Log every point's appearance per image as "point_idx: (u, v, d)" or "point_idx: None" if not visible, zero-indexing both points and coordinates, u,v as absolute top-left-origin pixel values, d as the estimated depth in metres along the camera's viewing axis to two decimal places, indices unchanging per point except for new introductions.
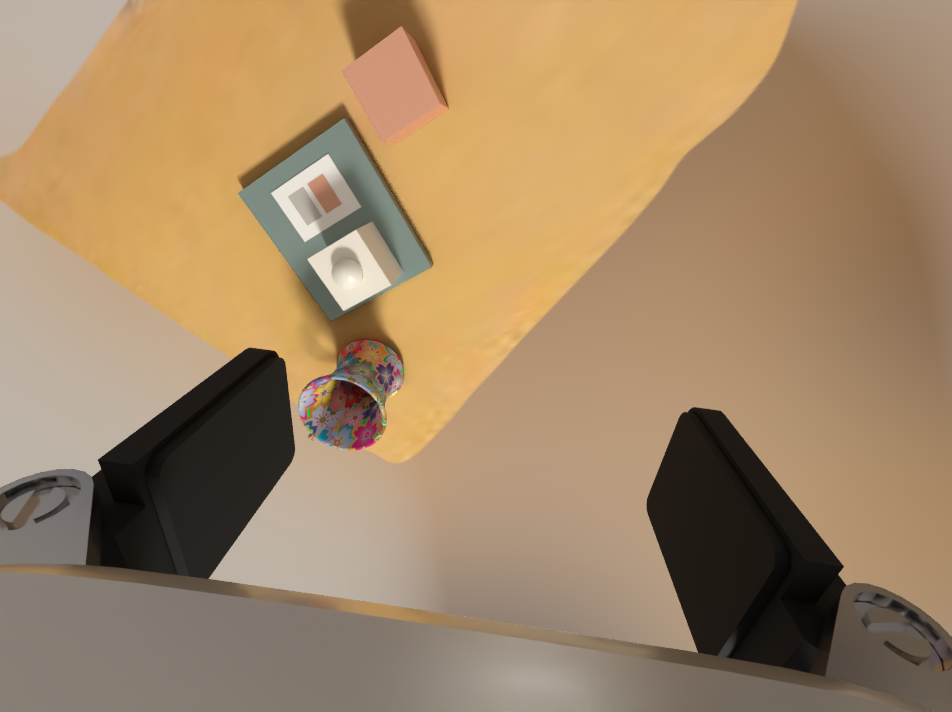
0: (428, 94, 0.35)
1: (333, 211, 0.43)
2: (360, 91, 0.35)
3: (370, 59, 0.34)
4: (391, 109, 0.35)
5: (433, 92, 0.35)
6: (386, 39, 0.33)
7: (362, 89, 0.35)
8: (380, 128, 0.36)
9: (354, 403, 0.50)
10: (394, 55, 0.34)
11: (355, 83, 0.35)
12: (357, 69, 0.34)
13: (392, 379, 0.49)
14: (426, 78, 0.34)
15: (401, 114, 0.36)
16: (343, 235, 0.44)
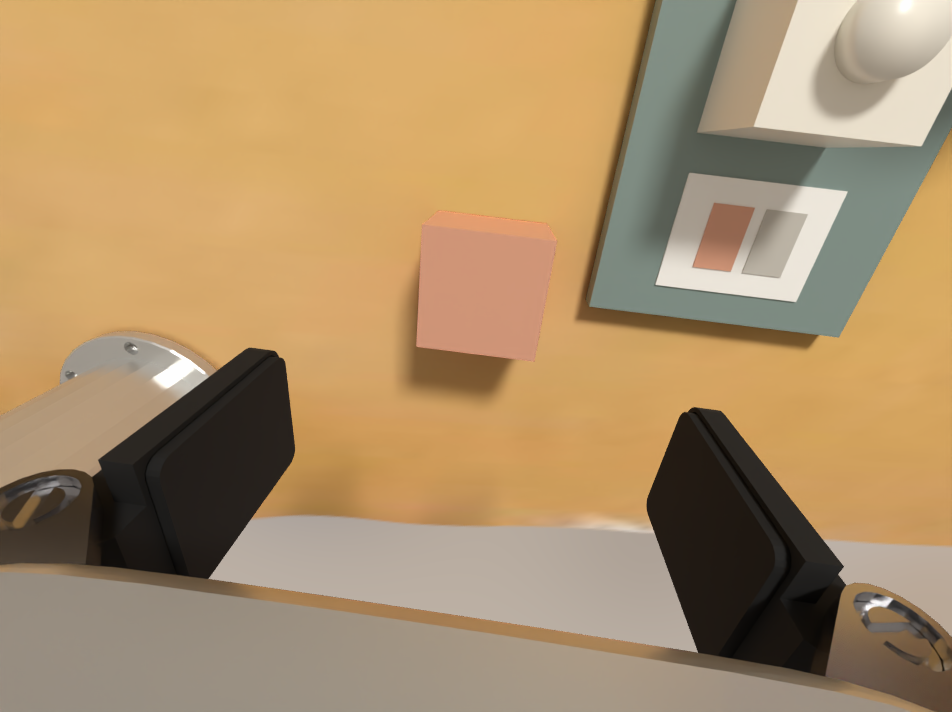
0: (432, 249, 0.19)
1: (740, 201, 0.21)
2: (529, 324, 0.20)
3: (484, 344, 0.21)
4: (503, 271, 0.19)
5: (423, 246, 0.19)
6: (446, 348, 0.21)
7: (525, 324, 0.20)
8: (542, 261, 0.19)
9: None
10: (448, 326, 0.21)
11: (528, 336, 0.20)
12: (511, 347, 0.21)
13: None
14: (421, 270, 0.19)
15: (494, 254, 0.19)
16: (772, 148, 0.20)
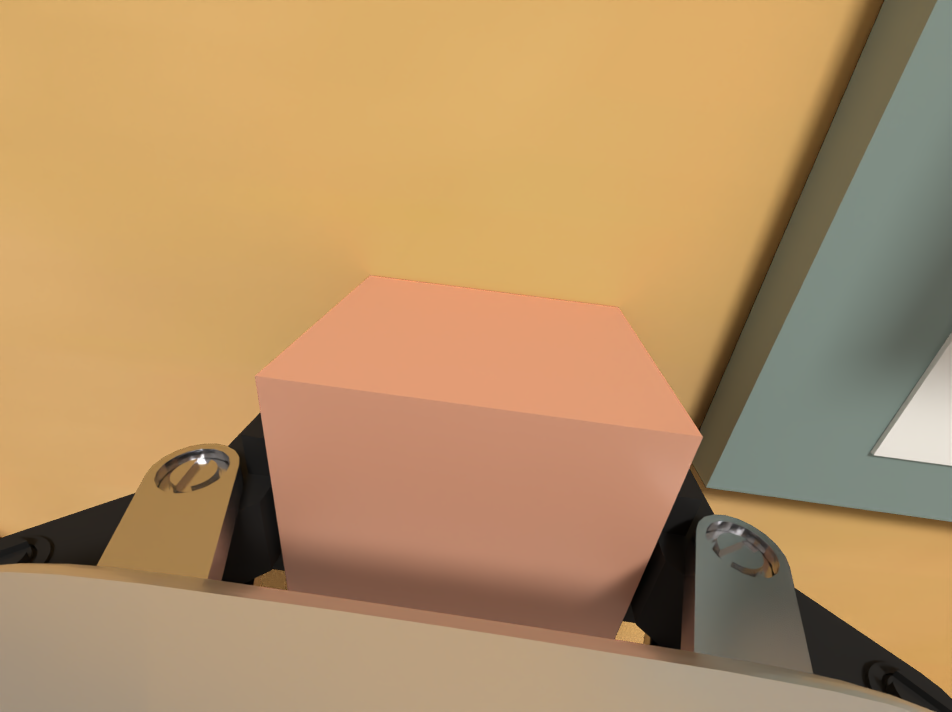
0: (300, 442, 0.06)
1: None
2: (591, 617, 0.07)
3: None
4: (520, 504, 0.06)
5: (270, 433, 0.06)
6: None
7: (577, 616, 0.07)
8: (644, 485, 0.06)
9: None
10: None
11: None
12: None
13: None
14: (278, 491, 0.07)
15: (491, 463, 0.06)
16: None
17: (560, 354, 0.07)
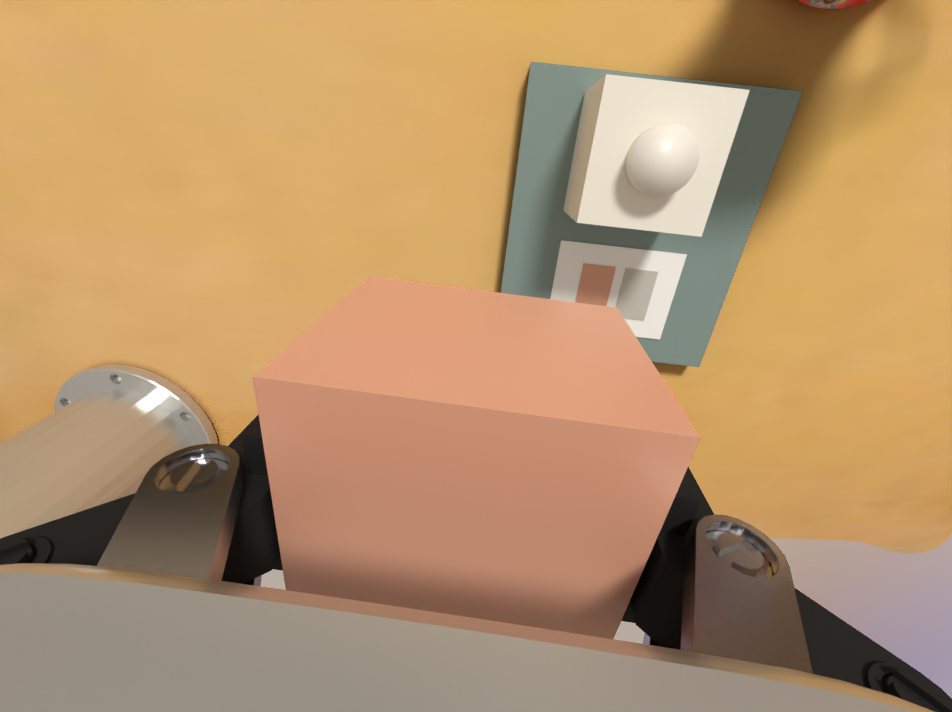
0: (297, 443, 0.06)
1: (603, 262, 0.26)
2: (589, 617, 0.07)
3: None
4: (518, 505, 0.06)
5: (267, 434, 0.06)
6: None
7: (575, 617, 0.07)
8: (642, 486, 0.06)
9: None
10: None
11: None
12: None
13: None
14: (276, 491, 0.07)
15: (488, 464, 0.06)
16: None
17: (558, 355, 0.07)
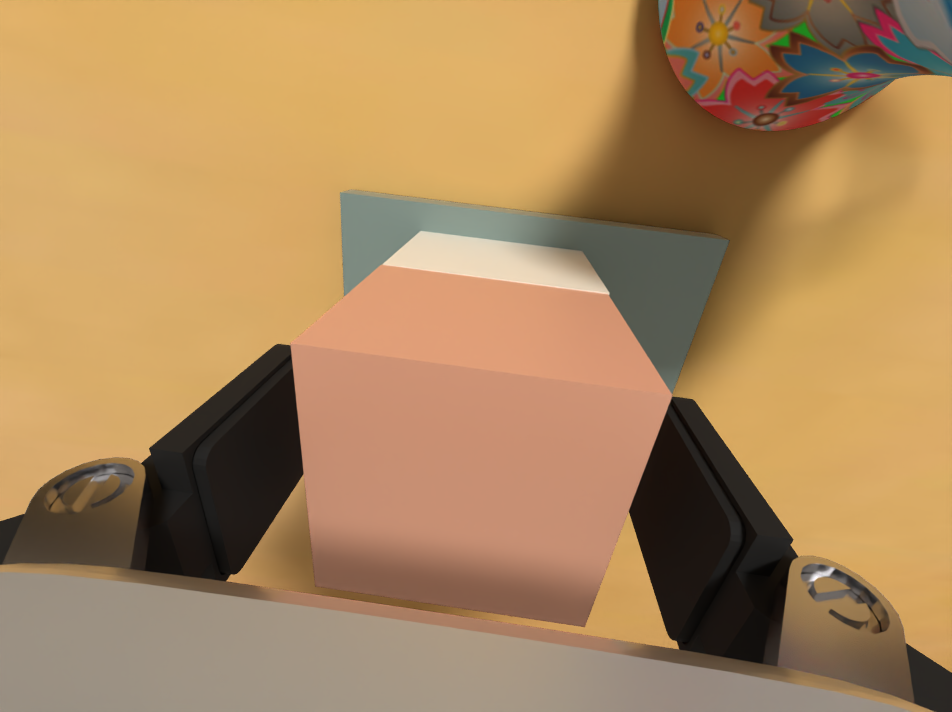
0: (326, 403, 0.07)
1: None
2: (579, 563, 0.08)
3: (470, 593, 0.09)
4: (518, 457, 0.07)
5: (301, 395, 0.07)
6: (383, 592, 0.09)
7: (567, 563, 0.08)
8: (624, 439, 0.07)
9: None
10: (384, 556, 0.09)
11: (574, 585, 0.09)
12: (533, 601, 0.09)
13: None
14: (306, 447, 0.08)
15: (491, 420, 0.07)
16: None
17: (553, 331, 0.08)
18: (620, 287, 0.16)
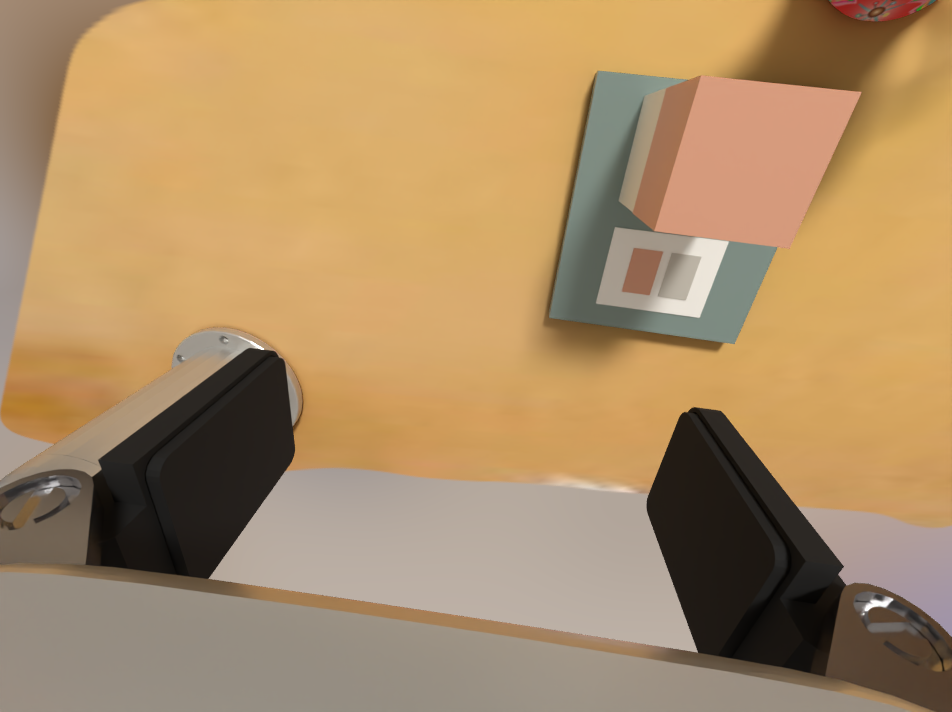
0: (705, 107, 0.17)
1: (652, 247, 0.29)
2: (797, 201, 0.18)
3: (735, 228, 0.19)
4: (784, 134, 0.17)
5: (694, 104, 0.17)
6: (689, 232, 0.19)
7: (791, 201, 0.18)
8: (835, 119, 0.16)
9: None
10: (698, 205, 0.18)
11: (791, 217, 0.18)
12: (767, 231, 0.19)
13: None
14: (685, 135, 0.17)
15: (778, 112, 0.17)
16: None
17: None
18: None
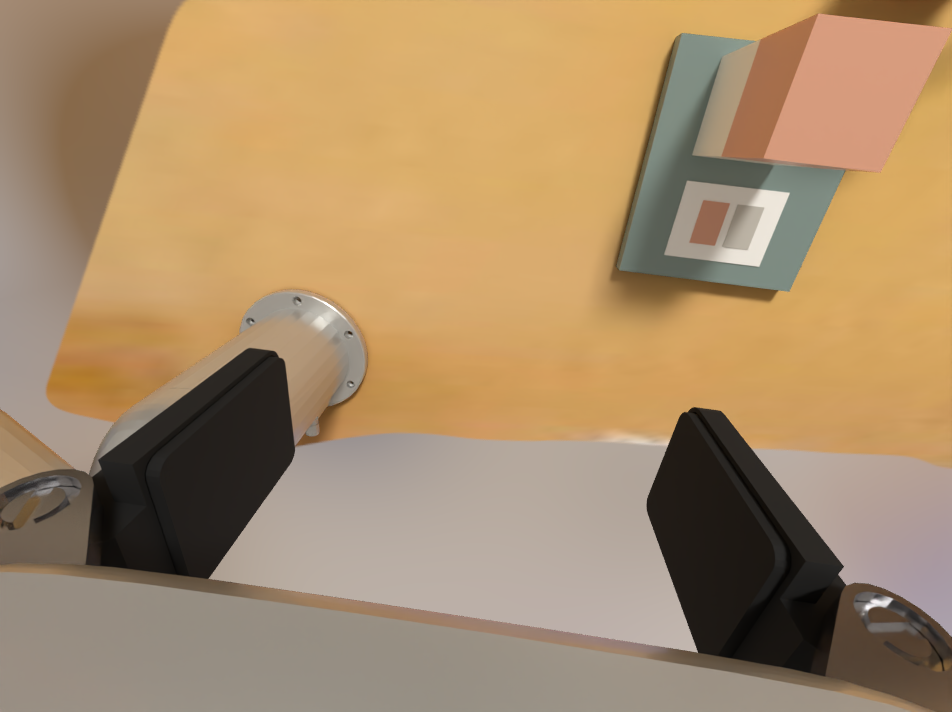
0: (819, 43, 0.20)
1: (720, 199, 0.32)
2: (890, 128, 0.21)
3: (835, 154, 0.21)
4: (884, 66, 0.20)
5: (810, 39, 0.19)
6: (794, 159, 0.22)
7: (885, 128, 0.21)
8: (929, 52, 0.19)
9: None
10: (805, 133, 0.21)
11: (884, 143, 0.21)
12: (862, 156, 0.21)
13: None
14: (799, 68, 0.20)
15: (881, 47, 0.19)
16: (740, 165, 0.31)
17: None
18: None
